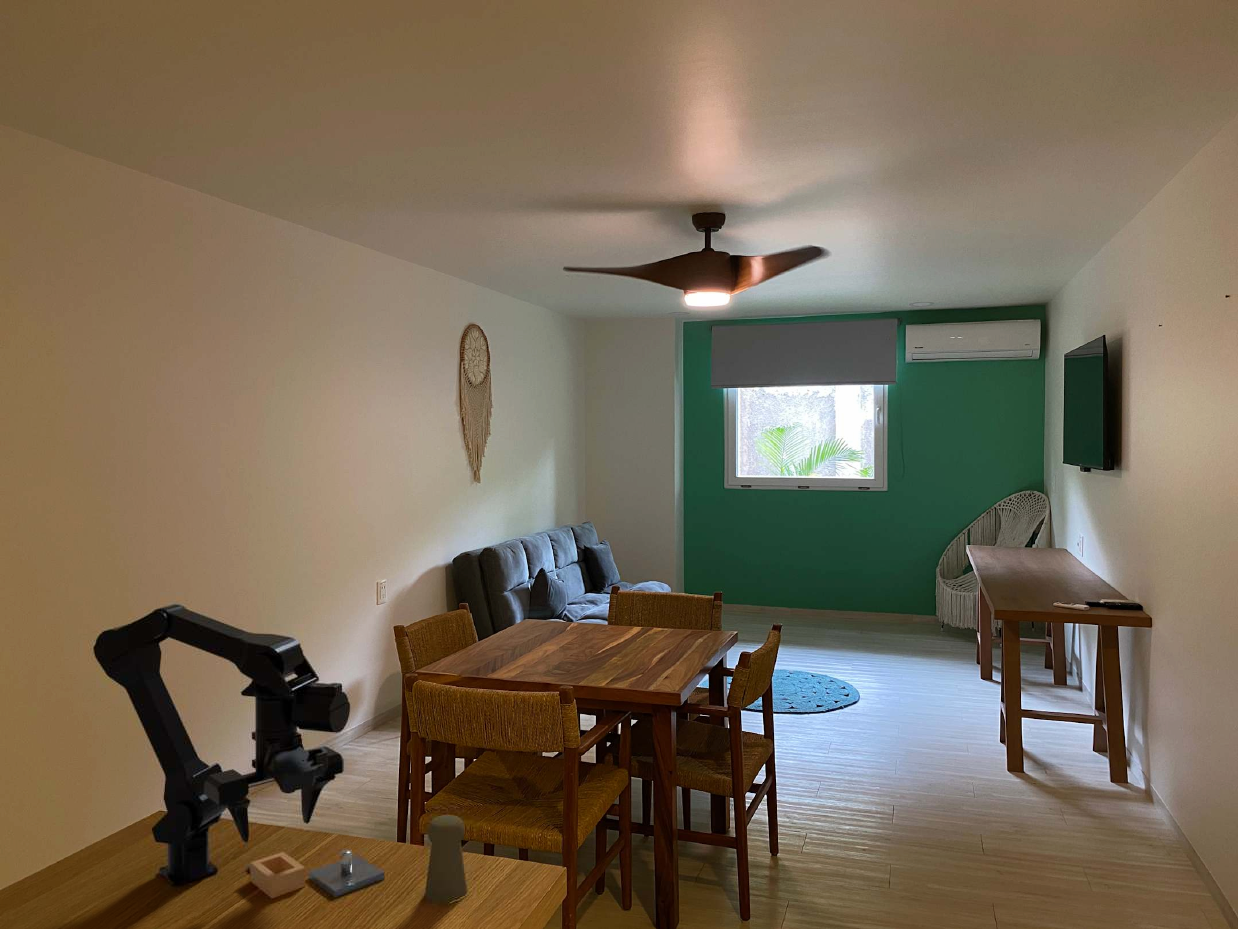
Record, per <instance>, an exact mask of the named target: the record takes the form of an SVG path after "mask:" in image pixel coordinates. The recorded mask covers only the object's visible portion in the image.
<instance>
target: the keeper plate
mask: <svg viewBox="0 0 1238 929" xmlns="http://www.w3.org/2000/svg"><path fill="white" fill-rule="evenodd" d="M307 872H308V875H307V876H308V878H307V879H308V880H309V881H312V882H313V883H314V884H316V885H317V886H318V887H320V888H321V889H322V890H324V891H325V892H326V893H328V894H329V895H330V896H332V897H334V898H338V897H341V896H343V895H345V894H349V893H351V892H354V891H356V890H359V889H362V888H364V887H367V886H369V885H372V884H375V883H377V882H380V881H383V880H385V878H386V877H385V875H386V874H385V871H384V870H382V869H380V868H379V867H377V866H376V865H374V864H372V862H370V861H368V860H366V859H365V858H364V857H362V856H360V855H358V854H354V855H353V850H352V849H343V850H341V851H340V860H337V861H334V862H332V863H329V864H325V865H323V866H320V867H317V868H314V869H312V870H308V871H307Z"/></svg>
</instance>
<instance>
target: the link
mask: <svg viewBox="0 0 1238 929" xmlns="http://www.w3.org/2000/svg"><path fill="white" fill-rule="evenodd" d="M249 865H250V871H249V872H250V882H251V883H252V884H254V885H255V886H256V887H257V888H258V889H259V890H261V891H262V892H263V893H264V894H266V896H268V897H269V898H271V899H274V898H277V897H280V896H283V895H286V894H288V893H291V892H293V891H296V890H299V889H301V888H304V887H306V867H305V866H304V865H302V864H301V863H299V862H298V861H296V860H295V859H294V858H293V857H291V856H290V855H289V854H287V853H285V852H284V851H281V852H278V853H276V854H271V855H269V856H266V857H263V858H260V859H258V860H253V861H251V862H250V864H249Z"/></svg>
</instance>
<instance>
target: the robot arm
mask: <svg viewBox="0 0 1238 929" xmlns="http://www.w3.org/2000/svg"><path fill="white" fill-rule="evenodd" d="M169 638H170V639H172V640H175V641H177V642H181V643H183V644H185V645H187V646H190V647H193V648H194V649H195V648H196V649H197V650H201V651H203V652H206V653H209V654H211V655H214V656H217V657H219V658H222V659H224V660H226V661H228V662H230V663H233V665H235V666H236V668H237V669H238V670H239V672H240V673H241V674H242V675H244V676H245V677H247V678H248V679H250V680H251V682H250V683H249V684H248V685H247V686H246V687H245V688H244V689H243V690H241V692H240V695H241V696H242V697H252V698H255V700H254V701H255V703H254V705H255V713H254V714H255V715H254V716H255V719H254V723H255V727H254V728H255V731H251V740H253V741H254V742H255V743H254V744H255V748H254V749H255V754H254V755H255V758H254V759H251V768H253V769H254V770H255V771H254V772H249V773H247V774H241V773H240V772H238V771H236V770H235V769H233V768H232V769H228V770H224V771H223V769H222V766H221V765H220V763H218V762H216V763H214V764H212V765H209V764H208V763H205V761H203V760H201V758H200V757H199V756H198V754H197V751H196V749H195V747H194V744H193V742H192V741H191V738H190V736H189V733H188V731H187V729H186V727H185V724H184V723H183V721H182V719H181V717H180V715H179V712H178V710H177V708H176V705H175V704H174V702H173V698H172V697H171V695H170V693H169V690H168V688H167V686H166V684H165V682H164V679H163V678H162V675H161V672H160V671H161V664H162V649H161V646H160V643H163V642H164V641H166V640H168V639H169ZM92 650H93V654H94V658H95V659H96V661H97V662H98V664H99V666H100V667H101V668H102V670H103V671H104V674H106V676H107V677H108V678H110V679H111V680H113V681H114V682H115V683H117V684H118V685H120V686H122V688H124V689H125V691H126V693H127V695H128V697H129V700H130V702H131V704H132V706H133V709H134V711H135V712H136V714H137V717H138V719H139V721H140V723H141V726H142V728H143V730H144V733H145V734H146V737H147V739H148V741H149V743H150V746H151V747H152V750H153V752H154V753H155V756H156V758H157V761H158V763H159V765H160V766H161V769H162V772H163V773H164V778H165V780H164V790H163V801H164V805H165V808H166V809H165V810H166V814H164V815H163V816H162V817H161V818H160V819H159V821H157V822H156V823H155V824H154V825H153V827H152V828H151V832H152V836H153V837H154V838H153V839H154V842H156V843H161V844H166V855H167V856H166V858H167V860H166V862H167V864H166V865H165V866H161V867H160V868H158V873H159V872H160V873H161V874H162V875H163V876H164V877H163V876H162V875H161V874H160V873H159V874H160V875H161V876H162V877H163V878H164V879H166V880H167V882H169V883H170V884H171V886H174V887H175V886H176V887H177V886H180V885H182V884H186V883H188V882H191V881H195V880H197V879H201V878H204V877H207V876H210V875H213V874H217V873H218V872H219V867H218V866H216V865H215V864H214V863H213V862H212V861H210V827H212V826H213V825H215V824H218V823H219V822H220V820H221V817H222V815H223V812H225V810H226V809H227V810H228V811H229V814H230V815H231V818H232V820H233V822H234V824H235V827H236V829H237V832H238V833H239V835H240V837H241V840H242V841H243V842H244V843H248V842H249V837H250V836H249V835H250V829H249V828H250V827H249V813H248V812H249V811H248V810H249V809H248V808H249V806H250V803H251V800H250V799H249V798H247V797H248V795H249V794H250V792H249V791H250V788H254V787H258V786H261V785H265V784H269V783H273V782H275V783H276V784H277V786H278V787H279V790H280V791H281V792H282V793H284V794H287V795H288V794H293V793H295V791H300V794H301V796H300V798H301V799H300V800H301V801H300V802H301V815H302V821H303V823H304V824H306V825H307V824H310V822H311V819H312V816H313V813H314V811H315V807H316V805H317V802H318V800H319V797H320V795H321V793H322V791H323V789H324V787H325V786H326V785H327V784H328V783H330V782H331V781H334V780H335V779H336V777H337V776H336V775H340V774H343V773H344V771H345V770H344V769H345V765H344V764H345V763H344V762H345V761H344V758H343V755H342V754H341V753H340V752H337V751H335V750H333V749H331V748H329V747H328V746H326V745H325V746H321V747H317V748H310V749H306V750H305V746H304V744H303V738H302V734H301V733H300V732H298V729H299V730H302V731H310V732H311V731H315V732H322V733H325V732H326V733H334V734H338V733H341V732H342V731H343V730H344V729H345V727H346V725H348V724H347V723H348V721H349V717H350V713H351V702H349V697H348V695H347V694H346V692H344V691H343V684H342V683H340V682H332V683H325V682H324V683H321V682H319V681H320V677H319V676H318V674H317V673H316V671H315V669H314V668H313V667H312V665H311V664H310V662H309V660H308V659H307V657H306V656H305V654H304V650H303V648H302V647H301V642H299V641H298V640H297V639H295V638H293V637H291V636H290V637H289V636H287V635H286V636H285V635H281V634H274V633H255V632H249V631H247V630H246V631H245V630H243V629H240V628H238V627H235V626H233V625H230V624H228V623H224V622H222V621H220V620H216V619H213V618H211V617H209V616H206V615H203V614H200V613H198V612H195V611H192V610H190V609H188V608H186V607H185V606H184V605H182V604H179V603H177V604H176V603H174V604H170V605H166V606H163V607H160V608H156V609H154V610H152V611H151V612H150V613H149V614H147V615H145V616H143V617H141V618H139V619H137V620H135V621H133V622H130V623H127V624H123V625H120V626H117V627H116V626H115V627H113V628H109V629H107V630H104V631H102V632H101V633H99V634H98V636H97V637H96V640H95V643H94V645H93V648H92ZM294 674H295V677H293V678H291V679H289V680H286V679H287V678H288V677H291V676H293V675H294Z"/></svg>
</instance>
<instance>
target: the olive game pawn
mask: <svg viewBox="0 0 1238 929" xmlns="http://www.w3.org/2000/svg"><path fill="white" fill-rule="evenodd" d="M428 824H429V825H428V826H427V837H428V840H429V842H430V844H431V845H430V852H429V853H430V854H429V860H428V867H427V868H428V869H427V875H426V881H425V882H426V883H425V888H424V889H425V891H424V898H425V900H427V901H428V902H430V903H431V904H436V905H447V904H446V903H450V902H452V901H454V900H458V899H460V898H461V897H463V896H465V895H466V893H467V894H468V889H467V888H468V887H467V881H466V880H467V879H466V878H467V877H466V871H465V865H464V864H465V863H464V857H463V849H462V842H461V841H462V840H463V838H464V835H465V824H464V821H463V820H462V818H460V817H459V816H456V815H452V814H443V815H442V814H441V815H439V816H436V817H435V818H433V819H431V820H430V822H429V823H428ZM466 896H467V895H466ZM466 896H465V897H466Z"/></svg>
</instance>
